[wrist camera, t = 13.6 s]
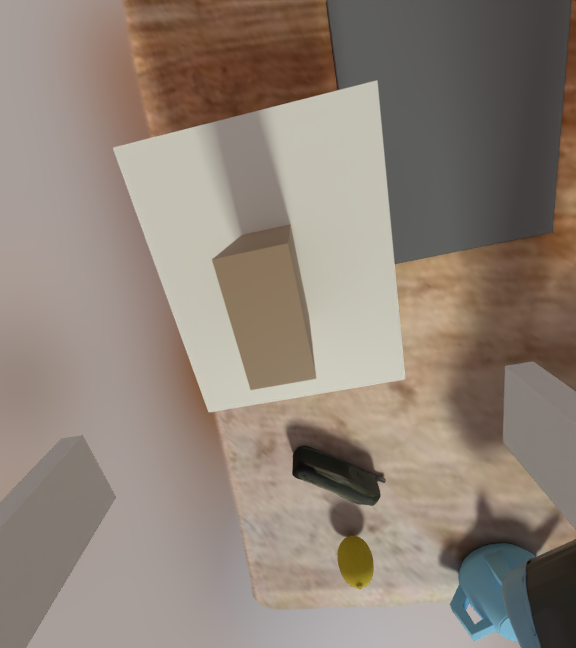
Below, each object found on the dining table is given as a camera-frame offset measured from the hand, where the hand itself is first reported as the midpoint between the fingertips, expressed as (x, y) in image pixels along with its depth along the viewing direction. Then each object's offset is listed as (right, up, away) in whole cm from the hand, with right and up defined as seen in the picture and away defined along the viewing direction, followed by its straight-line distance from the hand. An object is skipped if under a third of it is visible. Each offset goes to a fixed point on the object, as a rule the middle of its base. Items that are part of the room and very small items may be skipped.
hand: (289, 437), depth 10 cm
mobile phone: (+8, -18, +41) cm, 45 cm away
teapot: (+37, -39, +48) cm, 72 cm away
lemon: (+11, -33, +46) cm, 58 cm away
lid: (-1, +7, +15) cm, 17 cm away
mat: (+16, +23, +23) cm, 37 cm away
